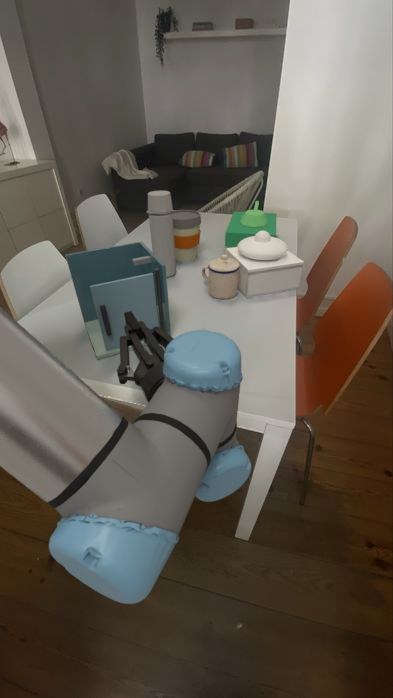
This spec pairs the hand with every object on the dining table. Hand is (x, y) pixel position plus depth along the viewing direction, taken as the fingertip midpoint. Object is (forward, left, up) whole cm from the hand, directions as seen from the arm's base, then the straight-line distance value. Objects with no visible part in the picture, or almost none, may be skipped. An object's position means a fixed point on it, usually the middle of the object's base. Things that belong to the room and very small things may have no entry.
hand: (128, 317), depth 63 cm
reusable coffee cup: (+34, +51, -12) cm, 63 cm away
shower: (+1, +13, -12) cm, 18 cm away
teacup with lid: (+32, +21, -12) cm, 41 cm away
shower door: (+1, +6, -11) cm, 12 cm away
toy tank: (+66, +54, -12) cm, 86 cm away
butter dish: (+47, +21, -12) cm, 53 cm away
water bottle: (+22, +41, -12) cm, 49 cm away
